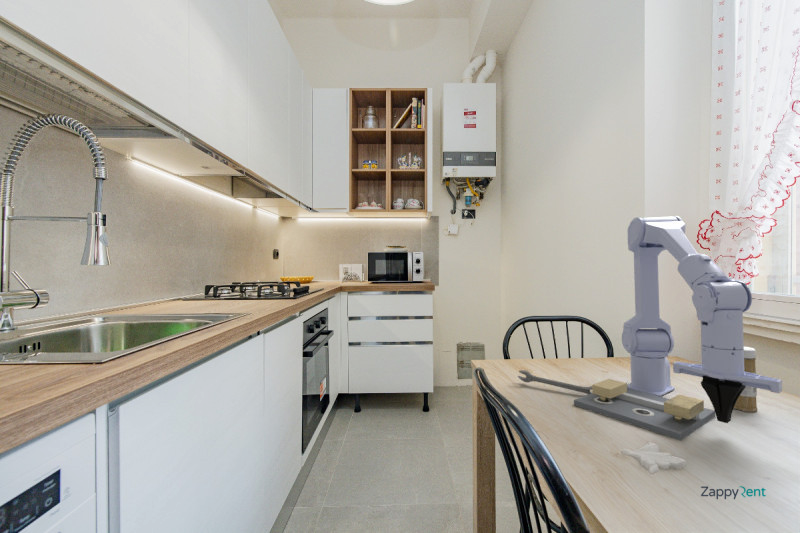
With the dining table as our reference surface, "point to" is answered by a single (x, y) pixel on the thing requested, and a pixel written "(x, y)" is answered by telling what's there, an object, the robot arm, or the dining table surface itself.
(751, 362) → the sprinkles bottle
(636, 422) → the bolt plate
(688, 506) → the dining table surface
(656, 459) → the acanthus leaf ornament
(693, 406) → the block
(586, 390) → the combination wrench
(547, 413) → the dining table surface
